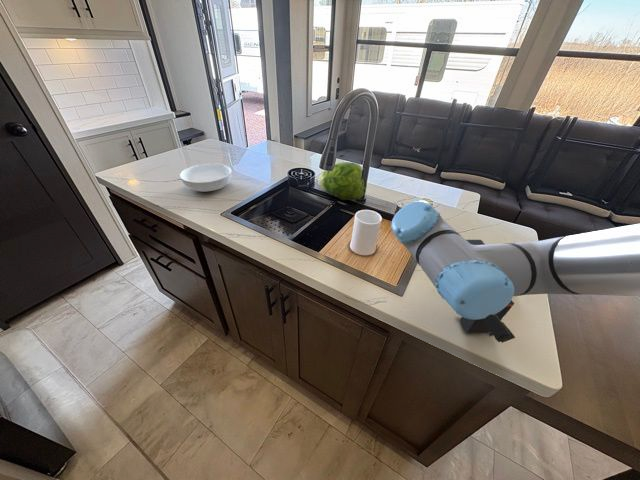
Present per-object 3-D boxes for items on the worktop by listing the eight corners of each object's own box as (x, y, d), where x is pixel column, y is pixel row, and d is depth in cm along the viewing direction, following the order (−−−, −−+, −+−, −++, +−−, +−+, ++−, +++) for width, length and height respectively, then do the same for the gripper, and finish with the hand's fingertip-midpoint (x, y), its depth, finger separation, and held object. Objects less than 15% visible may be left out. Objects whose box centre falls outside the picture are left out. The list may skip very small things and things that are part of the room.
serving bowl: (237, 176, 122) (235, 163, 118) (228, 198, 106) (225, 182, 102) (193, 176, 121) (189, 162, 117) (176, 197, 104) (171, 182, 100)
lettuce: (332, 188, 123) (323, 159, 114) (374, 185, 112) (367, 152, 103) (318, 207, 113) (307, 177, 104) (363, 206, 102) (354, 172, 93)
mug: (354, 231, 91) (359, 202, 83) (378, 237, 89) (385, 207, 81) (347, 252, 82) (351, 221, 74) (373, 258, 80) (380, 227, 72)
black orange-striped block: (491, 332, 60) (514, 303, 54) (466, 333, 60) (487, 303, 53) (483, 319, 63) (504, 290, 56) (459, 320, 63) (478, 290, 56)
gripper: (410, 235, 59) (449, 279, 70) (462, 331, 40) (505, 372, 50) (440, 216, 56) (476, 265, 67) (511, 310, 37) (547, 358, 47)
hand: (489, 311), depth 58 cm, fingers open, 13 cm apart
